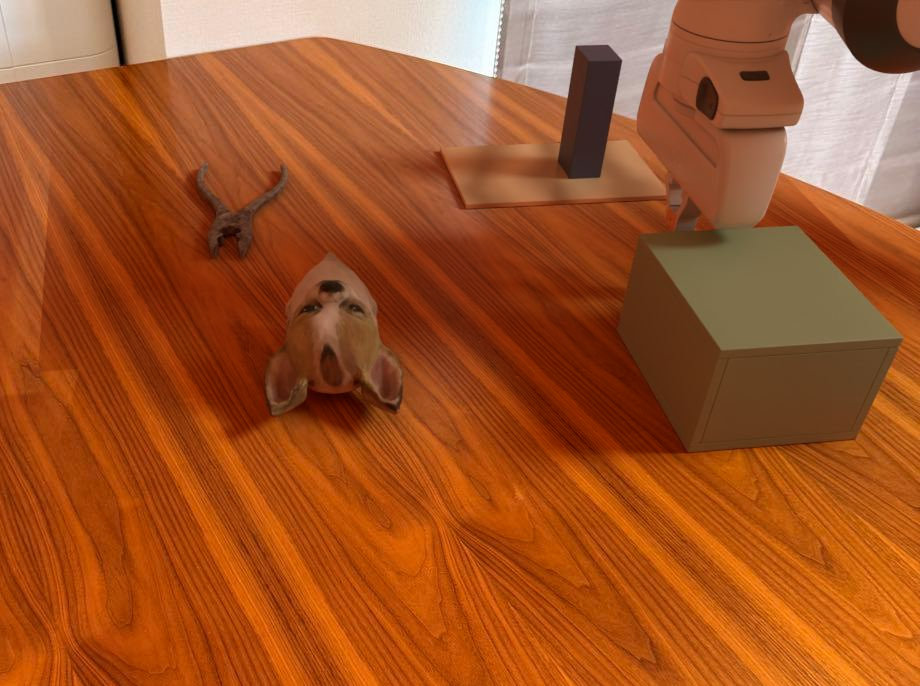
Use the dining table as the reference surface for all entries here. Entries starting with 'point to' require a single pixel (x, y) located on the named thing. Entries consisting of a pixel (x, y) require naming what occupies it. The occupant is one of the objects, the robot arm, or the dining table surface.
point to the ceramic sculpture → (332, 344)
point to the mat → (546, 176)
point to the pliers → (234, 214)
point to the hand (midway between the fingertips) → (677, 228)
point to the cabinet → (753, 338)
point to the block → (589, 110)
